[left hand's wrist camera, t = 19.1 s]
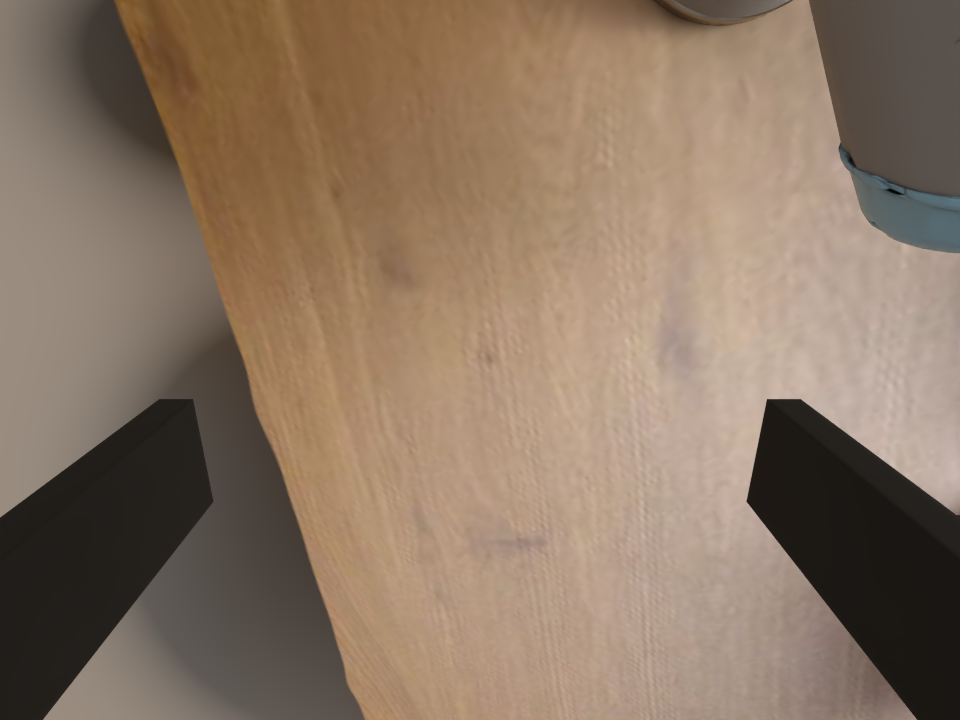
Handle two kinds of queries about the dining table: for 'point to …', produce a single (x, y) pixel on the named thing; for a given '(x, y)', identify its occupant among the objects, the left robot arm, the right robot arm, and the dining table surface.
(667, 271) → the dining table surface
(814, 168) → the dining table surface
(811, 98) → the dining table surface
